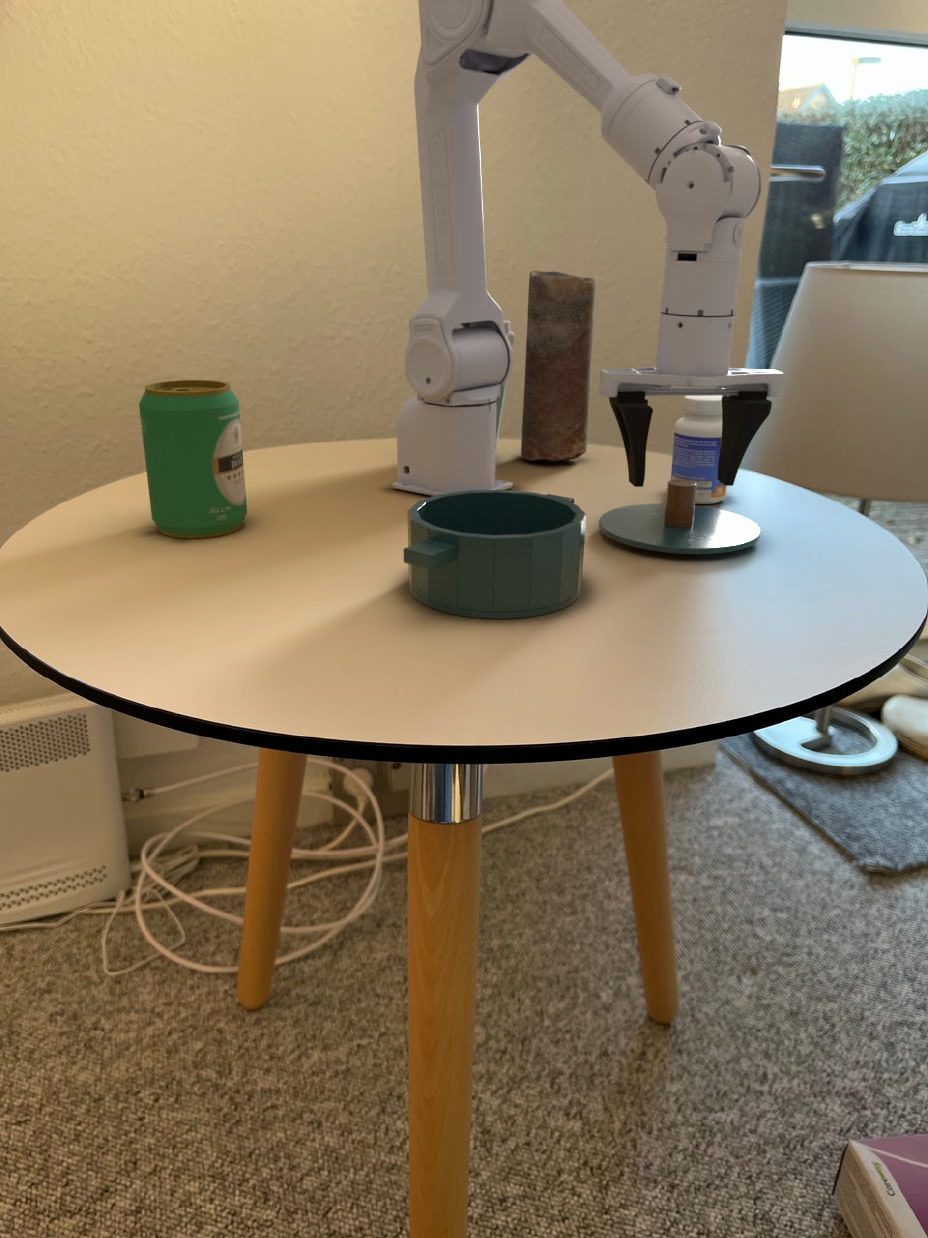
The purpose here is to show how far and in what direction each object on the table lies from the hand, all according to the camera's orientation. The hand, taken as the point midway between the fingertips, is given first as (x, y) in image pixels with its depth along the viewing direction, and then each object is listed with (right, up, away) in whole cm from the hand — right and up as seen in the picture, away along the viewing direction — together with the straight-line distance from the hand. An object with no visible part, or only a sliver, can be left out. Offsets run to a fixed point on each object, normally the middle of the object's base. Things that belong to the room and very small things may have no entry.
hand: (680, 483), depth 82 cm
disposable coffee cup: (-18, +7, +29) cm, 35 cm away
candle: (-8, +7, +29) cm, 31 cm away
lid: (0, -4, +1) cm, 4 cm away
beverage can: (-41, -4, +3) cm, 41 cm away
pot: (-16, -9, -11) cm, 21 cm away
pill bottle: (+5, 0, +14) cm, 14 cm away
